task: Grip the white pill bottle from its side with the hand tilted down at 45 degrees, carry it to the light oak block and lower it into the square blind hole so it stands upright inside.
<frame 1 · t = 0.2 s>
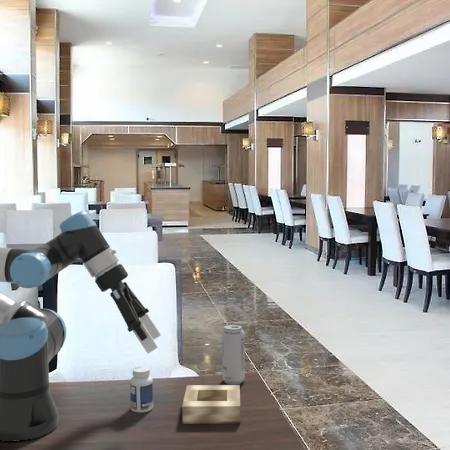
hand: (154, 344, 142), 15 cm above the table, tool tilted 30°, fingers open, 13 cm apart
energy drink can: (233, 381, 158), on the table
pill bottle: (142, 409, 140), on the table
socket block: (212, 411, 138), on the table
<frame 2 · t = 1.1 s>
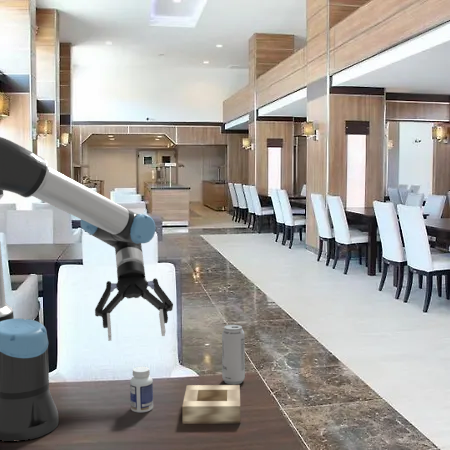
hand: (137, 335, 149), 15 cm above the table, tool tilted 45°, fingers open, 13 cm apart
nothing on the table moved.
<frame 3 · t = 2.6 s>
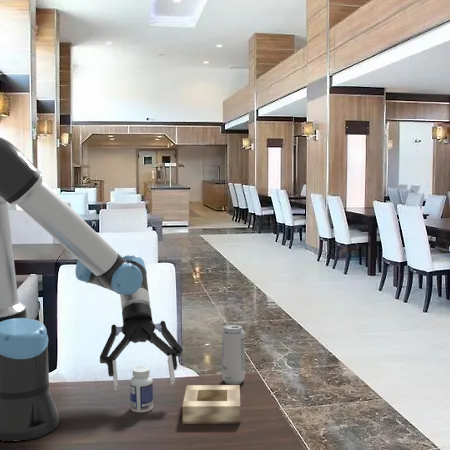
hand: (145, 385, 140), 6 cm above the table, tool tilted 45°, fingers open, 13 cm apart
nothing on the table moved.
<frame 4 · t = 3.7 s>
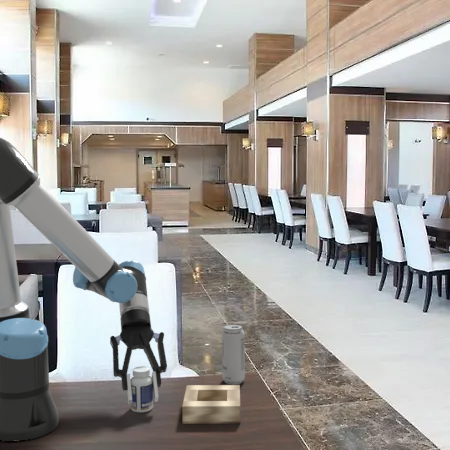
hand: (143, 400, 136), 3 cm above the table, tool tilted 45°, fingers closed on pill bottle, 5 cm apart
pill bottle: (142, 409, 140), on the table, touching gripper
everything else where it was.
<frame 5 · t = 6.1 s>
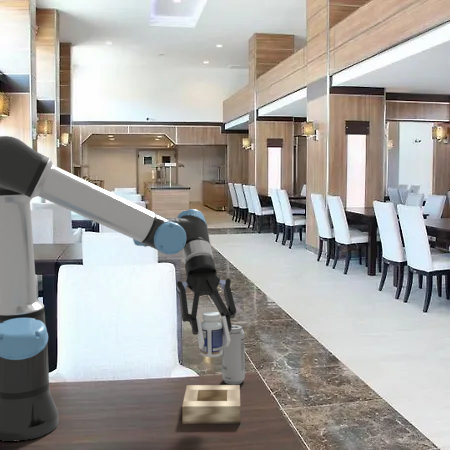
hand: (215, 344, 133), 17 cm above the table, tool tilted 45°, fingers closed on pill bottle, 5 cm apart
pill bottle: (211, 354, 137), point 14 cm above the table, touching gripper
everything else where it was.
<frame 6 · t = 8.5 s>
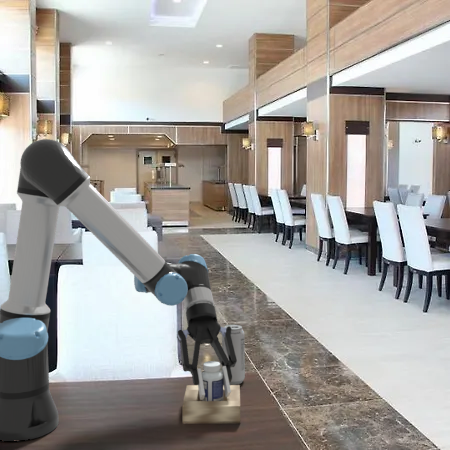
hand: (215, 395, 134), 5 cm above the table, tool tilted 45°, fingers closed on pill bottle, 5 cm apart
pill bottle: (212, 404, 138), point 2 cm above the table, touching gripper
everything else where it was.
when the fingers open (5 cm above the table, at t = 8.6 s): pill bottle drops 1 cm, resting on socket block.
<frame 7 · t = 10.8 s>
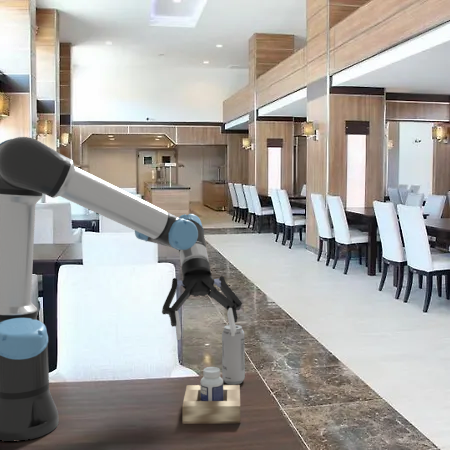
hand: (207, 335, 142), 17 cm above the table, tool tilted 45°, fingers open, 13 cm apart
pill bottle: (212, 410, 138), resting on socket block
everything else where it was.
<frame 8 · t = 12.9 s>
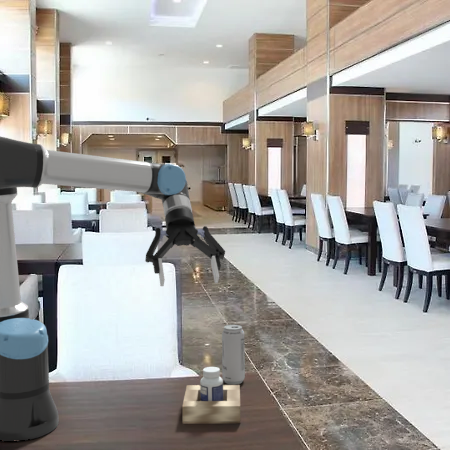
hand: (190, 281, 143), 30 cm above the table, tool tilted 45°, fingers open, 13 cm apart
nothing on the table moved.
at the end: pill bottle 0.1 cm off-centre on the socket block, point 0.3 cm above the socket block's base; pill bottle tilted 0°; the gripper is holding nothing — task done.
